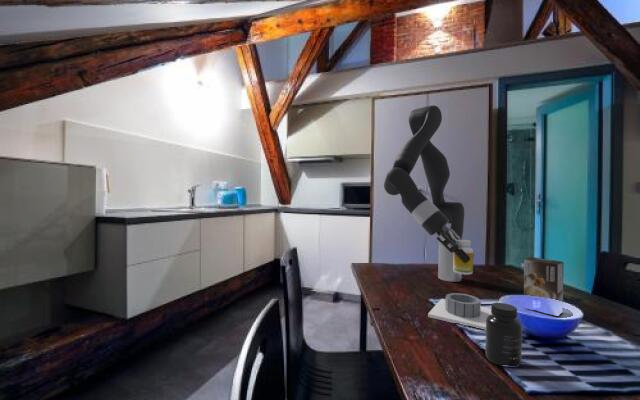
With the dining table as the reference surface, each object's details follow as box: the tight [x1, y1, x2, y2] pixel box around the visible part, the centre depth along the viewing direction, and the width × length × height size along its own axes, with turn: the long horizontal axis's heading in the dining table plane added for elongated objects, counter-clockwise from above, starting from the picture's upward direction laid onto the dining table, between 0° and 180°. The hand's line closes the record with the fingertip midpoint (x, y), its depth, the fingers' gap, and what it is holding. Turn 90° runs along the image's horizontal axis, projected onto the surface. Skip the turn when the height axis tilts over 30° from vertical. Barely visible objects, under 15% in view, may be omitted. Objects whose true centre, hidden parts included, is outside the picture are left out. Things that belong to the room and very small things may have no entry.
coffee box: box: [523, 256, 564, 302], centre depth 95 cm, size 9×6×16 cm
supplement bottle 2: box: [484, 302, 523, 367], centre depth 66 cm, size 7×7×12 cm
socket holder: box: [427, 292, 492, 331], centre depth 91 cm, size 16×16×5 cm
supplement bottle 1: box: [453, 239, 474, 276], centre depth 91 cm, size 5×5×10 cm
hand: (469, 259), depth 90 cm, fingers closed on supplement bottle 1, 5 cm apart
